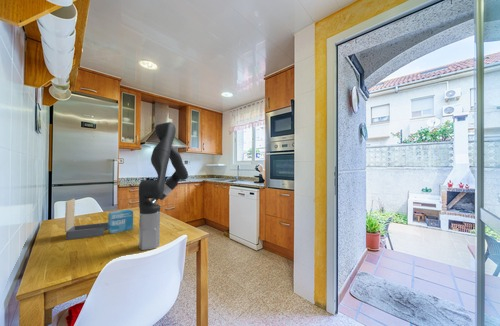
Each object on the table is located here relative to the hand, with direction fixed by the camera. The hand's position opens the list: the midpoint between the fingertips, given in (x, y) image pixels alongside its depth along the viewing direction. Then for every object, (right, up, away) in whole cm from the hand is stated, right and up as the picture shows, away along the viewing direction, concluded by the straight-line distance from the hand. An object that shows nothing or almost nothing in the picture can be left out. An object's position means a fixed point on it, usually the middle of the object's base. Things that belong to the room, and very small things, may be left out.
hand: (142, 211), depth 119 cm
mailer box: (-24, -10, -12) cm, 29 cm away
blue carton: (-10, -11, -5) cm, 16 cm away
